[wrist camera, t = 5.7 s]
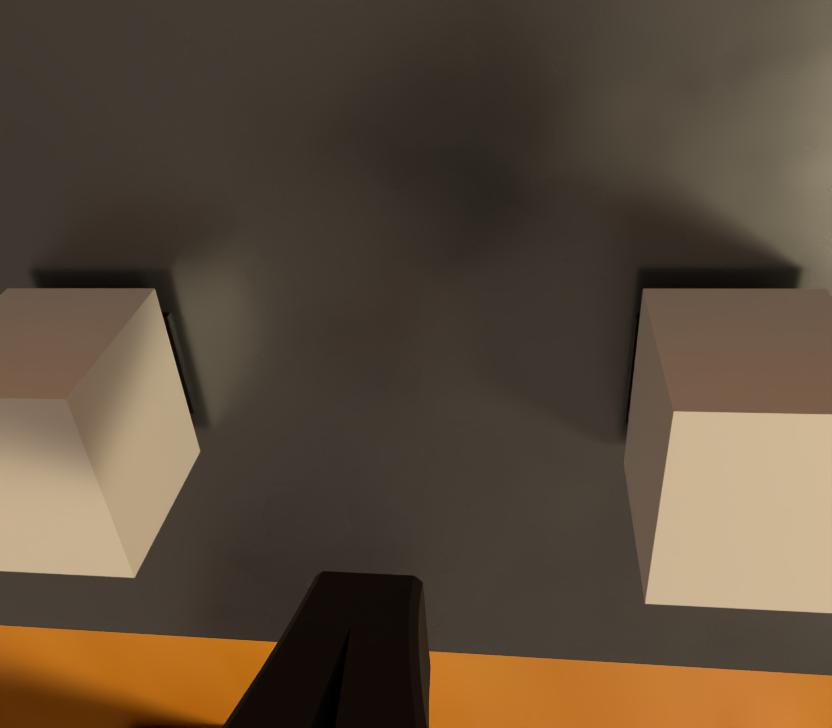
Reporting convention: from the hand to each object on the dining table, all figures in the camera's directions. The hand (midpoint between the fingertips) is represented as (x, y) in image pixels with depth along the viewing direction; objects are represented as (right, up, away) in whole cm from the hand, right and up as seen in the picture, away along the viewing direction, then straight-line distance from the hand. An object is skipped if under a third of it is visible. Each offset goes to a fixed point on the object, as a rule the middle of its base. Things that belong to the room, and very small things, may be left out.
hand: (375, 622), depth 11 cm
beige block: (+6, +3, +4) cm, 8 cm away
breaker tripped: (-6, +3, +6) cm, 9 cm away
